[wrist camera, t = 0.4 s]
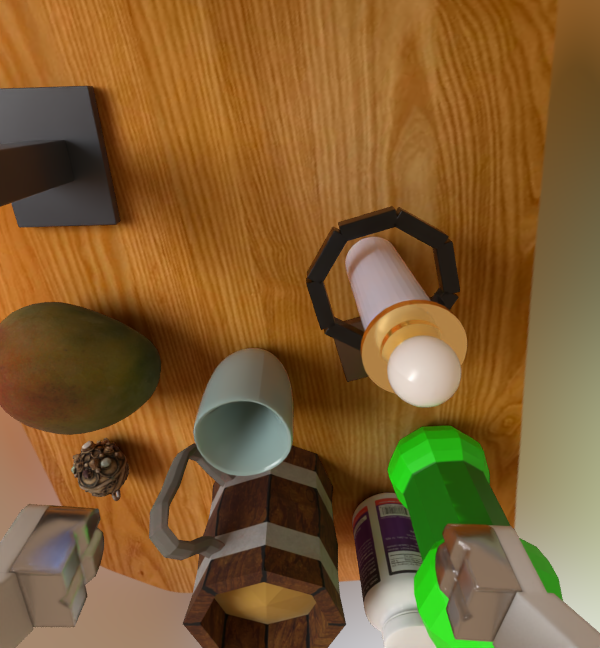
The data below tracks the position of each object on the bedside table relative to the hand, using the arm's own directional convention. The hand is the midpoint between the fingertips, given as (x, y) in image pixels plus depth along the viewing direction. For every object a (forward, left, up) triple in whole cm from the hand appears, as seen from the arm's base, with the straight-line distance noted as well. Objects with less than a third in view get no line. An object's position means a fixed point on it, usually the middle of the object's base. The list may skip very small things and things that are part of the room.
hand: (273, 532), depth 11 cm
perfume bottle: (+3, +7, -30) cm, 31 cm away
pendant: (+24, -20, -30) cm, 44 cm away
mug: (+27, -5, -30) cm, 41 cm away
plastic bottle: (+24, +14, -30) cm, 41 cm away
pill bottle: (+34, +10, -30) cm, 47 cm away
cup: (+14, -4, -30) cm, 34 cm away
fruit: (+10, -18, -30) cm, 37 cm away
